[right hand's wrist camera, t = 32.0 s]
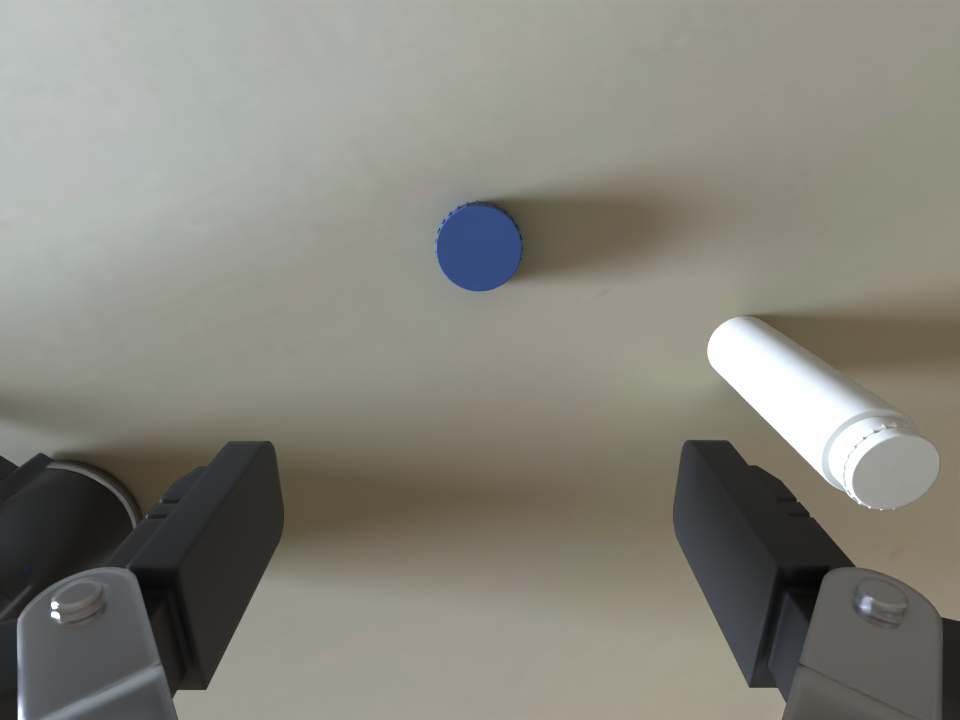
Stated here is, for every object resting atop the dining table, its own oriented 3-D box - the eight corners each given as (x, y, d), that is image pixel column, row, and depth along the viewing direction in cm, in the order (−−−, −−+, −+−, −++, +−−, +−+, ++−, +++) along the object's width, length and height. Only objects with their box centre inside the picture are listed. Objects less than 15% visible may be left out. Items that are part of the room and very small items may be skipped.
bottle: (699, 330, 38) (834, 449, 23) (765, 305, 37) (943, 412, 23) (716, 385, 39) (852, 529, 25) (778, 362, 39) (955, 497, 24)
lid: (537, 253, 36) (540, 259, 34) (469, 300, 37) (468, 309, 35) (489, 182, 34) (489, 185, 33) (420, 234, 36) (416, 239, 34)
